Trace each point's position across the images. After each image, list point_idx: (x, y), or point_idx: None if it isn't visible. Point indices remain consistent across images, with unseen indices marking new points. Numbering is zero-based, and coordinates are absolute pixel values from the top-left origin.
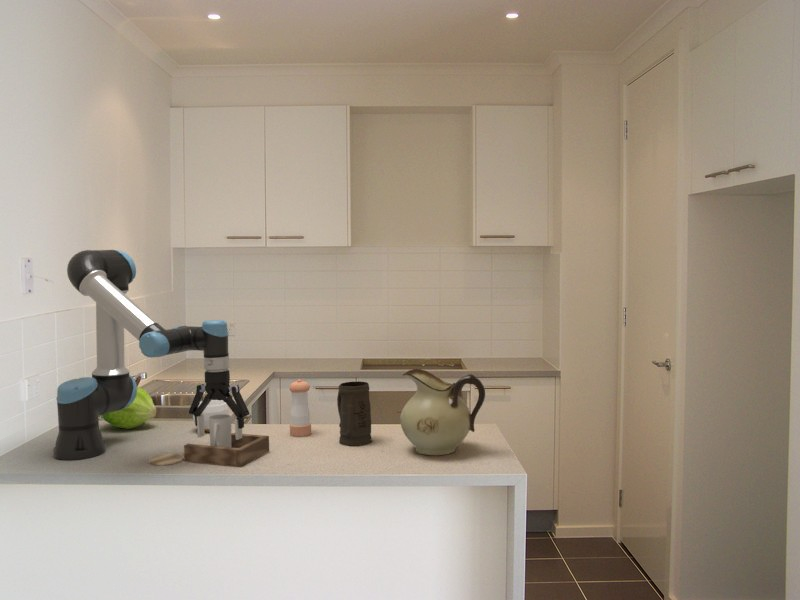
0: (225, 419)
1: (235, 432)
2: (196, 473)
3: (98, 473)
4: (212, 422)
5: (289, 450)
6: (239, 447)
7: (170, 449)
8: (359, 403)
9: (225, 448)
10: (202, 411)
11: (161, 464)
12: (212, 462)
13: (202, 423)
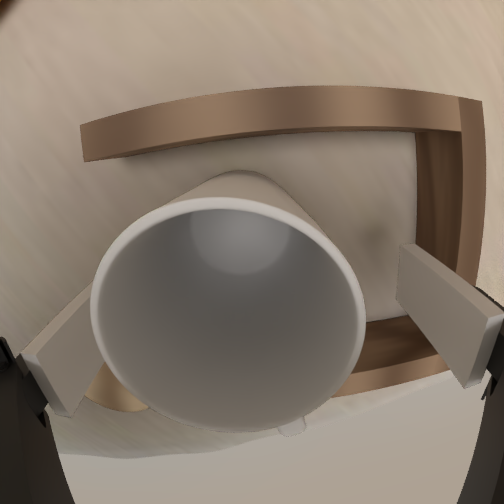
0: (343, 372)
1: (417, 324)
2: (309, 424)
3: (81, 454)
4: (223, 405)
5: (486, 81)
6: (296, 132)
7: (9, 252)
8: None
9: (383, 383)
10: (21, 392)
11: (140, 408)
12: None
13: (81, 336)
